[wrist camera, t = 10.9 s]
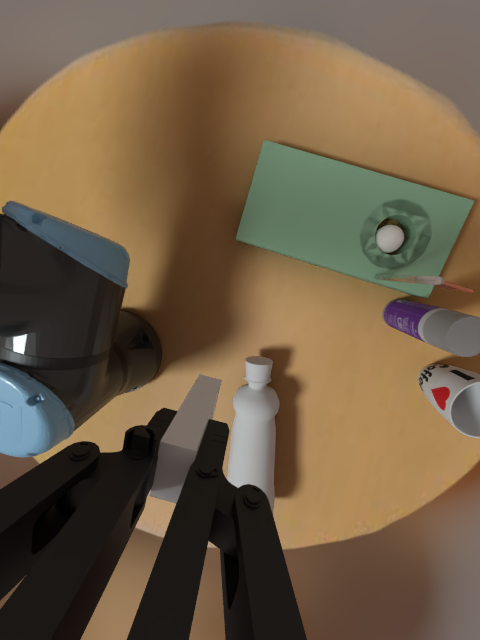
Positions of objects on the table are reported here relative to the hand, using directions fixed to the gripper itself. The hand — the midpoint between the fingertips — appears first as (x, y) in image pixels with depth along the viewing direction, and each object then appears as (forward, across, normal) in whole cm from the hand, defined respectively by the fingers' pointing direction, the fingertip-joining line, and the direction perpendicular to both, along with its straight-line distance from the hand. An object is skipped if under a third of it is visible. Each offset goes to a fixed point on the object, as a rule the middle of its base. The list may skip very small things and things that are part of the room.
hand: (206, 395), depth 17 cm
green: (+28, +12, +18) cm, 35 cm away
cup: (+28, +34, -2) cm, 44 cm away
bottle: (+28, +8, -20) cm, 36 cm away
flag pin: (+25, +20, +11) cm, 34 cm away
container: (+28, +25, +7) cm, 38 cm away
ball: (+26, +19, +17) cm, 36 cm away
